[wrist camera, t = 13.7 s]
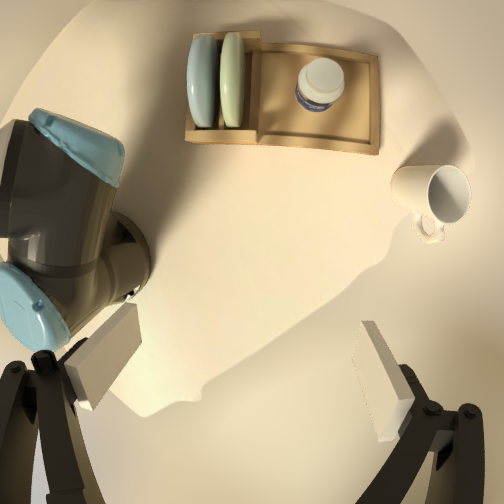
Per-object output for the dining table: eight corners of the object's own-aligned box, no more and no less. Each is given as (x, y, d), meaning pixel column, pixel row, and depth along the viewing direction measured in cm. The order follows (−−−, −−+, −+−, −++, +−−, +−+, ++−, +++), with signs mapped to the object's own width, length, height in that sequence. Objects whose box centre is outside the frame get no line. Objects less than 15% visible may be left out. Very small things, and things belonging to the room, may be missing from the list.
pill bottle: (286, 99, 35) (289, 77, 26) (308, 71, 34) (316, 43, 24) (320, 121, 36) (333, 106, 26) (340, 93, 34) (359, 71, 25)
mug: (388, 162, 37) (427, 161, 26) (427, 166, 37) (472, 168, 25) (385, 230, 40) (421, 252, 28) (423, 231, 39) (465, 253, 28)
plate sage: (234, 132, 37) (217, 117, 26) (238, 54, 34) (224, 15, 22) (243, 132, 37) (229, 117, 25) (247, 54, 34) (236, 14, 22)
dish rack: (197, 144, 39) (184, 140, 33) (203, 50, 35) (193, 34, 29) (374, 155, 37) (389, 153, 31) (373, 60, 33) (386, 46, 27)
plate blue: (210, 132, 37) (183, 118, 26) (214, 55, 34) (192, 18, 22) (218, 132, 37) (194, 118, 26) (223, 54, 34) (203, 16, 22)
